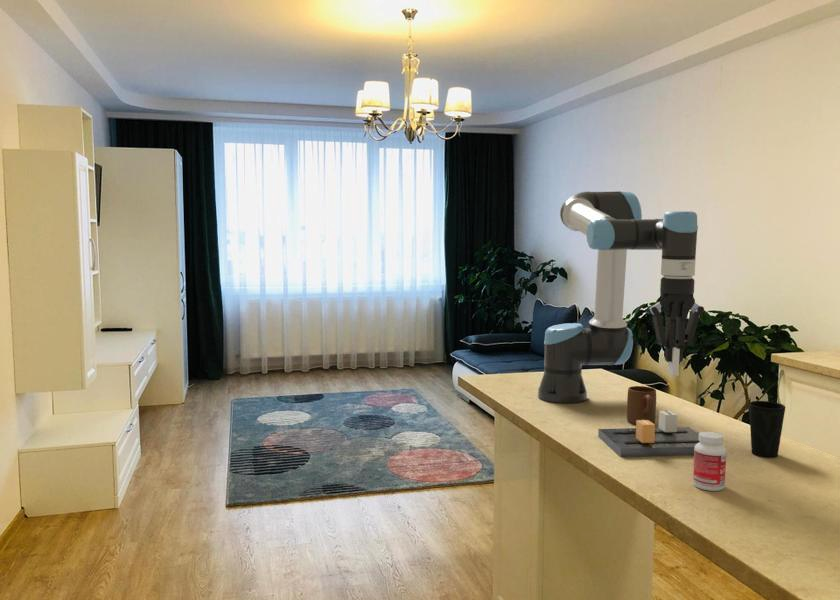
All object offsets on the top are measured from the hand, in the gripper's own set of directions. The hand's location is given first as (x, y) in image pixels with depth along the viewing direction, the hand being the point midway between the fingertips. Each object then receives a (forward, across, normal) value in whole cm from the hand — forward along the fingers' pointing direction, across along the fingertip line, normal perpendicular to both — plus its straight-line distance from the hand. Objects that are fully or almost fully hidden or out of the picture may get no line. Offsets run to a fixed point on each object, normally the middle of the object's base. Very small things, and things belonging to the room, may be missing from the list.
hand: (672, 374), depth 166 cm
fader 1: (+16, -7, -1) cm, 17 cm away
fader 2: (+16, +3, +7) cm, 18 cm away
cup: (+19, +21, -5) cm, 28 cm away
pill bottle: (+18, -2, -24) cm, 30 cm away
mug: (+19, +2, +21) cm, 29 cm away
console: (+19, -2, +3) cm, 19 cm away
